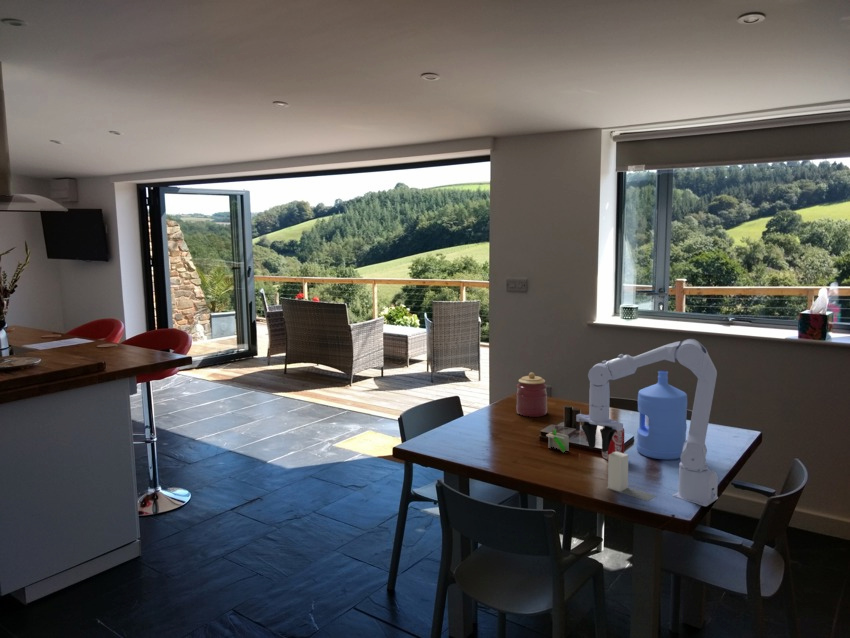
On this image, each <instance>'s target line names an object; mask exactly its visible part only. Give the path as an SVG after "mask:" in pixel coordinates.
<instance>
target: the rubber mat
mask: <svg viewBox="0 0 850 638" xmlns="http://www.w3.org/2000/svg"><path fill="white" fill-rule="evenodd" d="M605 489H607V490H610V491H614V492H617V493H620V494H623V495H626V496H630V497H633V498H637V499H638V500H643V501H645V502H648V501H651V500H652V499H654V498H656V497H657V495H654V494H651V493H648V492H644V491H641V490H639V489H635V488H632V487H628V488H627V489H625V490H623V491H621V492H619V491H616V490H613V489H610V488H608V486H606V487H605Z"/></svg>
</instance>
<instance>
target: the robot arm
mask: <svg viewBox="0 0 850 638" xmlns="http://www.w3.org/2000/svg"><path fill="white" fill-rule="evenodd" d="M661 361H668V362H672V363H676V361H678V363H679V364H680V365H682V366H684V367H685V368H687V369H689V370H690V371H691V372H692V373H693V375H695V377H697V383H696V388H695V394H694V399H693V400H694V401H693V405H692V412H691V418H690V423H689V424H690V425H689V429H688V433H687V434H688V435H687V439H686V442H685V443H684V444H683V451H682V453H681V457H680V458H679V459H680V462H679V464H678V465H679V470H678V471H679V472H678V491H677V492H675V493H673V494H672V497H674V498H677V499H680V500H684V501H687V502H690V503H694V504H695V505H699V506H702V507H708V506H709V505H711V504H712V503H714V502H715V501H716V500H718V499H719V496H718V485H719V484H718V482H719V481H718V479H719V478H718V473H717V472H716V471H714V470H711V469H710V468H709V466H708V464H707V463H706V462H707V458H706V456H707V452H708V449H707V445H706V439H707V432H708V426H709V421H710V415H711V410H712V406H713V405H712V404H713V398H714V395H715V393H714V392H715V388H716V382H717V377H718V376H717V375H718V371H717V368H716V366H715V364H714V362H713V361H712V359H711V357H710V355H709V352H708V350H707V348H706V347H705V346H704V345H703V344H702V343H701V342H699V341H698V340H696V339H694V338H688V339H683V341H680V340H679V341H674V342H672V343H671V342H670V343H667V344H665V345H662V346H659V347H657V348H654V349H652V350H651V349H650V350H649V351H646V352H643V353H641V354H638V355H635V356H631V355H630V354H623V353H621V354H619V355H617V357H616V358H613V359H609V360H606V359H605V360H602V361H601V362H599V363H596V364H594V365H593V366H592V367H591V368H590V369H589V370H588V374H587V377H588V381H589V390H588V391H589V397H588V398H589V400H588V401H589V404H588V405H589V406H588V407H589V409H588V410H589V411H588V414H583V413H578V414H576V415H575V417H576V418H575V419H576V420H575V421H576V422H578V423H580V422H582V423H583V424H582V425H581V429H582V431H583V432H584V435H585V437H586V440H587V444H588V447H589V449H594V448H596V443H597V442H596V441H597V439H596V435H597V430H598V427H602V428H599V432H600V435H601V436H600V437H601V453H602V452H606V451H608V449H609V445H610V442H611V439H612V437H613V435H614V433H615V432H616V430H617V431H621V430H623V428H624V423H622V422H619V421H617V420H614V419H611V418H610V404H611V403H610V399H611V397H610V394H611V393H610V391H611V390H610V381H614V380H618V379H621V378H624V377H627V376H630V375H633V374H635V373H636V371H637V369H638V368H640V367H644V366H648V365H650V364H651V365H652V364H654V363H657V362H661ZM603 427H604V428H603Z"/></svg>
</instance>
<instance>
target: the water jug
mask: <svg viewBox="0 0 850 638" xmlns="http://www.w3.org/2000/svg"><path fill="white" fill-rule="evenodd" d="M657 373H658V375H657V382H656V383H655V384H651V385H649V386H646V387H644V388H642V389H639V390H638V394H637V411H638V413H639V425H638V426H639V427H638V429H637V435H636V437H637V438H636V439H637V440H636V451H637V452H638V453H639V454H641V455H642V456H644V457H648V458H651V459H654V460H656V459H657V460H667V461H671V460H673V461H674V460H679V459H681V458H680V457H681V453H682V451H683V444H684V443H685V442H686V441H687V439H686V438H687V428H688V427H687V412H688V411H687V410H688V394H687V393H686V392H685V391H683V390H681V389H679V388H677V387H675V386H673V385H671V384H669V381H668V379H669V376H668V374H669V371H667V370H665V371H664V370H659V371H657ZM646 417H647V418H648V425H646Z"/></svg>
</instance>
